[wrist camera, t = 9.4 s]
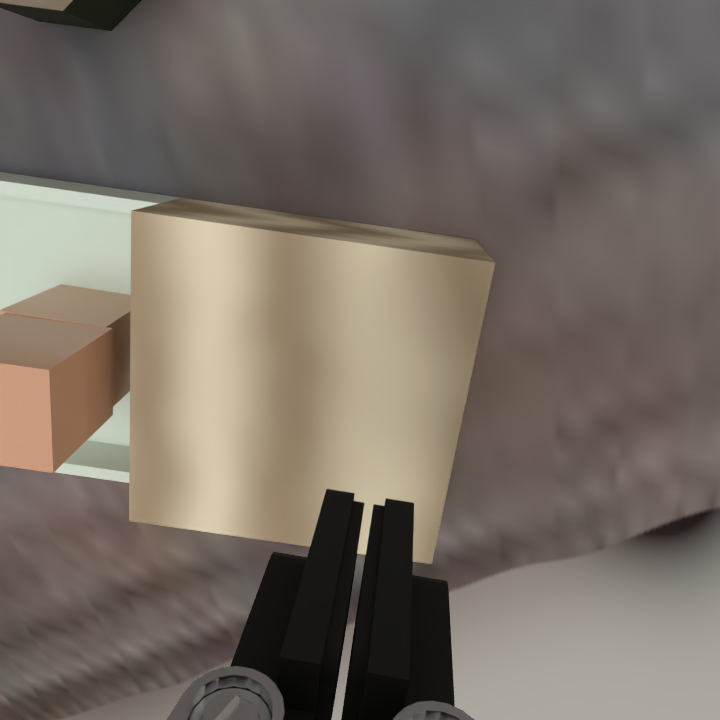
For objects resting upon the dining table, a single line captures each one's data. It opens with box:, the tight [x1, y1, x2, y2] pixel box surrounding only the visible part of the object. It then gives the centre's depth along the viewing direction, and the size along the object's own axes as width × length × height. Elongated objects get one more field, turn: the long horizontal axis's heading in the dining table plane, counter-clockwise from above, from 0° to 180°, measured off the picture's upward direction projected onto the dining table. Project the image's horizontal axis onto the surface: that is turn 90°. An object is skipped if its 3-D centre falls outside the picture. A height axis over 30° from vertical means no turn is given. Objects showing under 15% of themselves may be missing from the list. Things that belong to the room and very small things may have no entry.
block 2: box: [0, 313, 113, 473], centre depth 24 cm, size 5×4×4 cm
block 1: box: [0, 284, 131, 406], centre depth 28 cm, size 5×4×4 cm
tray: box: [0, 172, 180, 483], centre depth 29 cm, size 11×14×4 cm
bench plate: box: [129, 198, 495, 564], centre depth 28 cm, size 14×14×6 cm
